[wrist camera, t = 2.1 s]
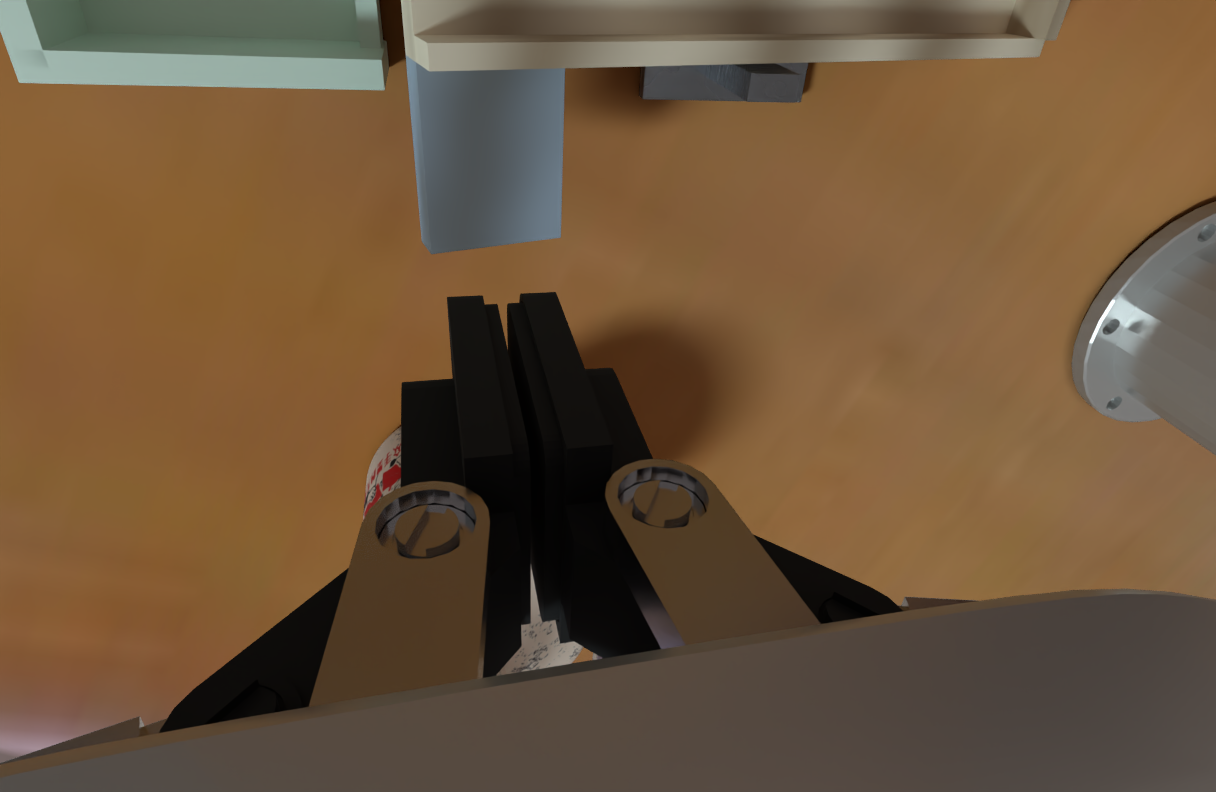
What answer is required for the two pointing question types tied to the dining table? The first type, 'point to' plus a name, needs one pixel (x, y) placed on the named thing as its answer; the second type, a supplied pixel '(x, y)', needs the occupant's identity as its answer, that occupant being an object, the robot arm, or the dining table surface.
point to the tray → (198, 43)
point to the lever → (629, 37)
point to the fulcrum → (724, 82)
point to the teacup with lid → (536, 636)
